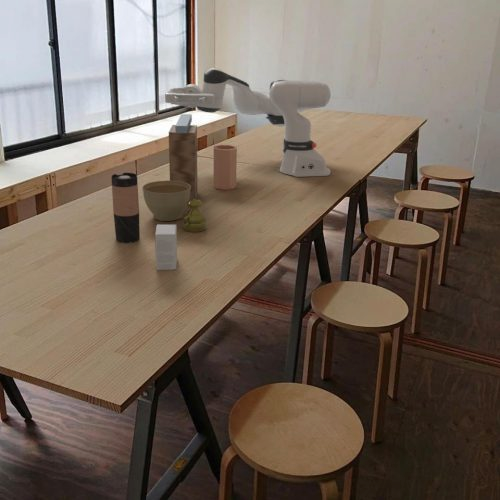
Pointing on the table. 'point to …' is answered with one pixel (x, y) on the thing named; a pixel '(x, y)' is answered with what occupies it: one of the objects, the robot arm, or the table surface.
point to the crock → (225, 167)
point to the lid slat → (183, 123)
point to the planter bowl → (166, 199)
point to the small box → (166, 247)
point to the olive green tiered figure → (194, 217)
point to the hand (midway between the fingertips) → (189, 100)
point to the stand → (184, 157)
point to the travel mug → (126, 207)
